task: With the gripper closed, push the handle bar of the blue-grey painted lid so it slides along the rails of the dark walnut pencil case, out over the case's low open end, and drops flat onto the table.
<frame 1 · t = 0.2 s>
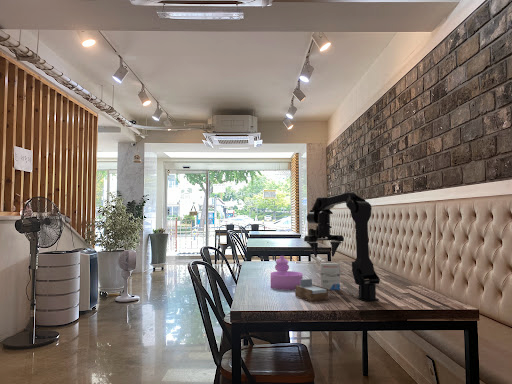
hand: (324, 256, 178), 14 cm above the table, fingers open, 9 cm apart
ink box: (330, 289, 175), on the table
lid: (312, 290, 155), point 3 cm above the table, touching case
container set: (284, 285, 185), on the table
case: (311, 297, 155), on the table
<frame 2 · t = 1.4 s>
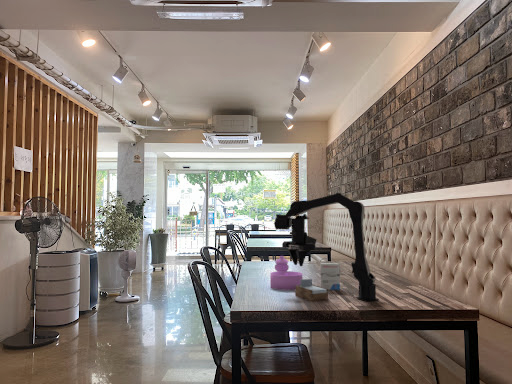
hand: (298, 265, 165), 12 cm above the table, fingers open, 4 cm apart
nothing on the table moved.
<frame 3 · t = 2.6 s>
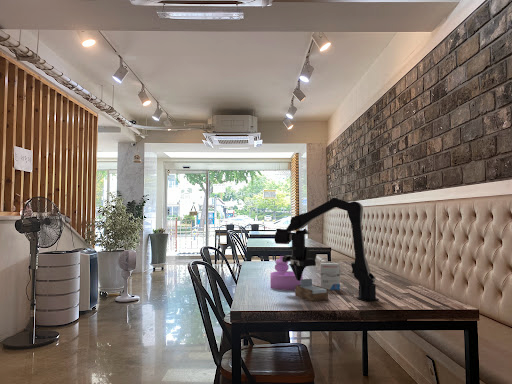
hand: (298, 280, 165), 6 cm above the table, fingers closed
nothing on the table moved.
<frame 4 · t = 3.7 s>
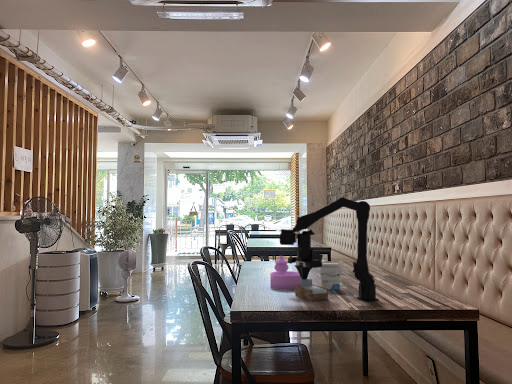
hand: (304, 282, 160), 6 cm above the table, fingers closed
lid: (312, 290, 155), point 3 cm above the table, touching case, gripper
everything else where it was.
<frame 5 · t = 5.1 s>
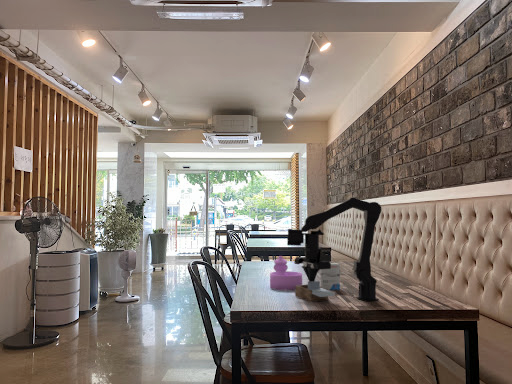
hand: (311, 284, 155), 6 cm above the table, fingers closed
lid: (320, 293, 149), point 3 cm above the table, touching case, gripper
everything else where it was.
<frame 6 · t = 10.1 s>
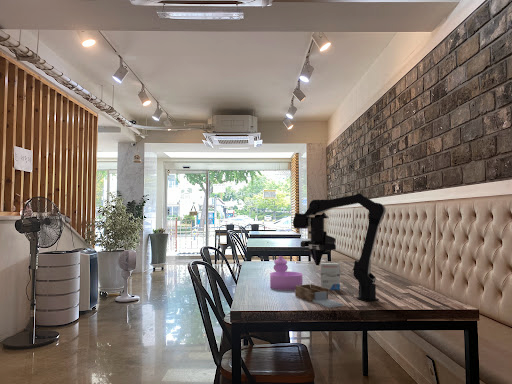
hand: (317, 265, 162), 13 cm above the table, fingers closed
lid: (327, 305, 145), on the table
at the end: lid moved 11.1 cm from its start; lid on the table; lid tilted 0° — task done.
